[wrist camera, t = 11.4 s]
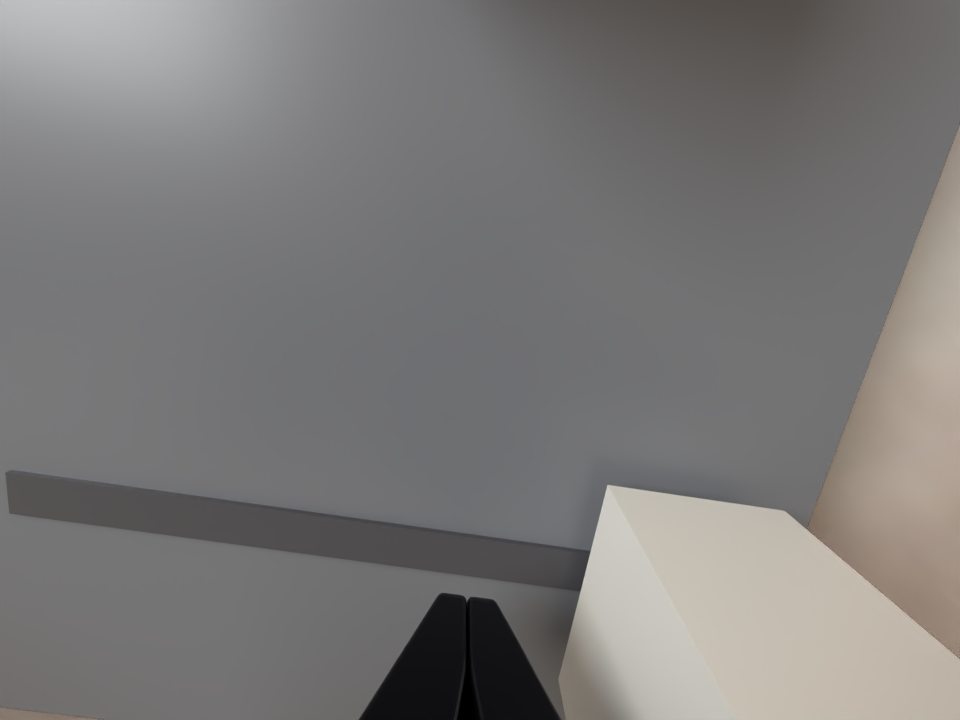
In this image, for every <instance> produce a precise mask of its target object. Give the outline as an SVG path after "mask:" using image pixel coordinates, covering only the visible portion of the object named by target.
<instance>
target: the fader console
mask: <svg viewBox="0 0 960 720" xmlns="http://www.w3.org/2000/svg"><path fill="white" fill-rule="evenodd" d="M959 125H960V0H0V707H1V708H9V709H18V710H26V711H34V712H43V713H51V714H60V715H68V716H76V717H85V718H93V719H101V720H359V718H360V716H361V715H362V713H363V712H364V710H365V709H366V707H367V705H368V704H369V702H370V701H371V699H372V698H373V696H374V695H375V693H376V691H377V690H378V688H379V687H380V685H381V684H382V682H383V680H384V679H385V677H386V676H387V674H388V673H389V671H390V669H391V668H392V666H393V665H394V663H395V662H396V660H397V658H398V657H399V655H400V654H401V652H402V651H403V649H404V648H405V646H406V644H407V643H408V641H409V640H410V638H411V637H412V635H413V633H414V632H415V630H416V629H417V627H418V626H419V624H420V622H421V621H422V619H423V618H424V616H425V615H426V613H427V611H428V610H429V608H430V607H431V605H432V604H433V602H434V601H435V599H436V597H437V596H438V595H439V594H441V593H449V594H457V595H463V596H464V597H465V598H466V600H468V599H469V598H470V597H479V598H487V599H493V600H494V601H496V603H497V604H498V606H499V608H500V609H501V611H502V613H503V615H504V617H505V618H506V620H507V622H508V624H509V625H510V627H511V629H512V631H513V633H514V634H515V636H516V638H517V640H518V641H519V643H520V645H521V647H522V649H523V650H524V652H525V654H526V656H527V657H528V659H529V661H530V663H531V665H532V666H533V668H534V670H535V672H536V674H537V675H538V677H539V679H540V681H541V682H542V684H543V686H544V688H545V690H546V691H547V693H548V695H549V697H550V698H551V700H552V702H553V704H554V706H555V707H556V709H557V711H558V713H559V715H560V716H561V718H562V720H566V718H565V713H564V707H563V702H562V696H561V691H560V686H559V680H558V679H559V675H560V671H561V667H562V663H563V659H564V655H565V651H566V647H567V643H568V639H569V635H570V631H571V627H572V623H573V620H574V616H575V612H576V608H577V604H578V600H579V596H580V592H581V588H582V584H583V580H584V576H585V572H586V568H587V564H588V560H589V556H590V552H591V548H592V544H593V540H594V536H595V532H596V528H597V525H598V521H599V517H600V513H601V509H602V505H603V501H604V497H605V493H606V489H607V485H612V486H619V487H626V488H633V489H640V490H646V491H653V492H660V493H667V494H674V495H681V496H687V497H694V498H701V499H708V500H715V501H722V502H728V503H735V504H742V505H749V506H756V507H763V508H769V509H776V510H783V511H785V512H787V513H788V514H789V515H790V516H791V517H793V518H794V519H795V520H796V521H797V522H798V523H800V524H801V525H802V526H803V527H804V528H805V529H807V526H808V523H809V521H810V518H811V515H812V513H813V510H814V508H815V505H816V502H817V500H818V497H819V494H820V492H821V489H822V486H823V484H824V481H825V479H826V476H827V473H828V471H829V468H830V465H831V463H832V460H833V457H834V455H835V452H836V450H837V447H838V444H839V442H840V439H841V436H842V434H843V431H844V428H845V426H846V423H847V421H848V418H849V415H850V413H851V410H852V407H853V405H854V402H855V399H856V397H857V394H858V392H859V389H860V386H861V384H862V381H863V378H864V376H865V373H866V370H867V368H868V365H869V363H870V360H871V357H872V355H873V352H874V349H875V347H876V344H877V341H878V339H879V336H880V334H881V331H882V328H883V326H884V323H885V320H886V318H887V315H888V312H889V310H890V307H891V305H892V302H893V299H894V297H895V294H896V291H897V289H898V286H899V283H900V281H901V278H902V276H903V273H904V270H905V268H906V265H907V262H908V260H909V257H910V254H911V252H912V249H913V247H914V244H915V241H916V239H917V236H918V233H919V231H920V228H921V225H922V223H923V220H924V218H925V215H926V212H927V210H928V207H929V204H930V202H931V199H932V196H933V194H934V191H935V188H936V186H937V183H938V181H939V178H940V175H941V173H942V170H943V167H944V165H945V162H946V159H947V157H948V154H949V152H950V149H951V146H952V144H953V141H954V138H955V136H956V133H957V130H958V128H959Z"/></svg>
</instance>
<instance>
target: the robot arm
mask: <svg viewBox="0 0 960 720" xmlns="http://www.w3.org/2000/svg"><path fill="white" fill-rule="evenodd" d="M359 720H562V718H561V716H560V715H559V713H558V711H557V709H556V707H555V706H554V704H553V702H552V700H551V698H550V697H549V695H548V693H547V691H546V690H545V688H544V686H543V684H542V682H541V681H540V679H539V677H538V675H537V674H536V672H535V670H534V668H533V666H532V665H531V663H530V661H529V659H528V657H527V656H526V654H525V652H524V650H523V649H522V647H521V645H520V643H519V641H518V640H517V638H516V636H515V634H514V633H513V631H512V629H511V627H510V625H509V624H508V622H507V620H506V618H505V617H504V615H503V613H502V611H501V609H500V608H499V606H498V604H497V603H496V601H494V600H493V599H487V598H479V597H470V598H469V599H468V600H466V598H465V597H464V596H463V595H457V594H449V593H441V594H439V595H438V596H437V597H436V599H435V601H434V602H433V604H432V605H431V607H430V608H429V610H428V611H427V613H426V615H425V616H424V618H423V619H422V621H421V622H420V624H419V626H418V627H417V629H416V630H415V632H414V633H413V635H412V637H411V638H410V640H409V641H408V643H407V644H406V646H405V648H404V649H403V651H402V652H401V654H400V655H399V657H398V658H397V660H396V662H395V663H394V665H393V666H392V668H391V669H390V671H389V673H388V674H387V676H386V677H385V679H384V680H383V682H382V684H381V685H380V687H379V688H378V690H377V691H376V693H375V695H374V696H373V698H372V699H371V701H370V702H369V704H368V705H367V707H366V709H365V710H364V712H363V713H362V715H361V716H360V718H359Z"/></svg>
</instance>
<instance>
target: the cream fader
mask: <svg viewBox="0 0 960 720" xmlns="http://www.w3.org/2000/svg"><path fill="white" fill-rule="evenodd" d="M558 680H559V686H560V691H561V696H562V702H563V707H564V713H565V718H566V720H960V659H959V658H957V657H956V656H955V655H954V654H953V653H952V652H950V651H949V650H948V649H947V648H946V647H944V646H943V645H942V644H941V643H940V642H939V641H937V640H936V639H935V638H934V637H933V636H931V635H930V634H929V633H928V632H927V631H926V630H924V629H923V628H922V627H921V626H920V625H919V624H917V623H916V622H915V621H914V620H913V619H911V618H910V617H909V616H908V615H907V614H906V613H904V612H903V611H902V610H901V609H900V608H899V607H897V606H896V605H895V604H894V603H893V602H891V601H890V600H889V599H888V598H887V597H886V596H884V595H883V594H882V593H881V592H880V591H878V590H877V589H876V588H875V587H874V586H873V585H871V584H870V583H869V582H868V581H867V580H866V579H864V578H863V577H862V576H861V575H860V574H858V573H857V572H856V571H855V570H854V569H853V568H851V567H850V566H849V565H848V564H847V563H846V562H844V561H843V560H842V559H841V558H840V557H838V556H837V555H836V554H835V553H834V552H833V551H831V550H830V549H829V548H828V547H827V546H825V545H824V544H823V543H822V542H821V541H820V540H818V539H817V538H816V537H815V536H814V535H813V534H811V533H810V532H809V531H808V530H807V529H805V528H804V527H803V526H802V525H801V524H800V523H798V522H797V521H796V520H795V519H794V518H793V517H791V516H790V515H789V514H788V513H787V512H785V511H783V510H776V509H769V508H763V507H756V506H749V505H742V504H735V503H728V502H722V501H715V500H708V499H701V498H694V497H687V496H681V495H674V494H667V493H660V492H653V491H646V490H640V489H633V488H626V487H619V486H612V485H607V489H606V493H605V497H604V501H603V505H602V509H601V513H600V517H599V521H598V525H597V528H596V532H595V536H594V540H593V544H592V548H591V552H590V556H589V560H588V564H587V568H586V572H585V576H584V580H583V584H582V588H581V592H580V596H579V600H578V604H577V608H576V612H575V616H574V620H573V623H572V627H571V631H570V635H569V639H568V643H567V647H566V651H565V655H564V659H563V663H562V667H561V671H560V675H559V679H558Z"/></svg>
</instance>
